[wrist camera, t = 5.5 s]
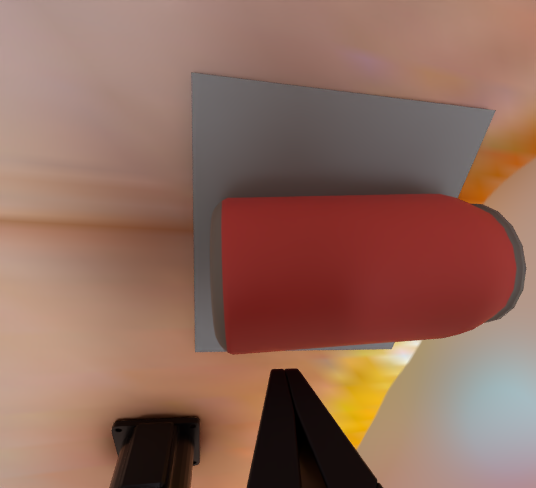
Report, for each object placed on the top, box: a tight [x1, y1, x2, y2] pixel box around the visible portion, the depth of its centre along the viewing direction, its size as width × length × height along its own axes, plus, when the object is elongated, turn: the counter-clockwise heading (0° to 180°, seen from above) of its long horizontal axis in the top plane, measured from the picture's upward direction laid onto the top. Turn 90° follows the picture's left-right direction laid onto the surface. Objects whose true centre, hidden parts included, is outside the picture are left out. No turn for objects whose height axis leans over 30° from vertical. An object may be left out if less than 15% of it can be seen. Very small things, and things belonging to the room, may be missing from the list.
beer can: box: [210, 194, 526, 355], centre depth 13 cm, size 7×7×12 cm
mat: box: [191, 72, 496, 352], centre depth 17 cm, size 16×14×1 cm
